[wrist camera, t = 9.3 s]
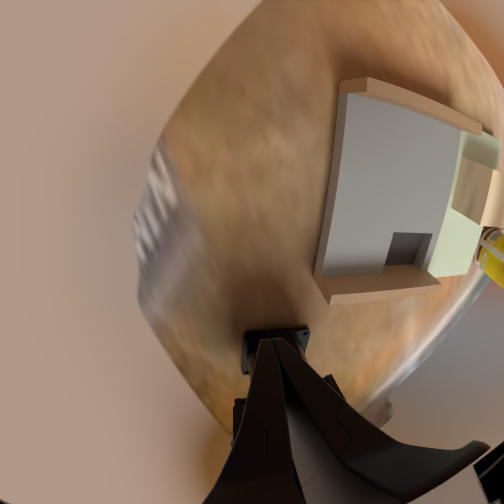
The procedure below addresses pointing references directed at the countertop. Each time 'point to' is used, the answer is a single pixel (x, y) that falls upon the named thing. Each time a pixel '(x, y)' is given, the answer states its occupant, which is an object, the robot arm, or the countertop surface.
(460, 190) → the block
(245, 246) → the countertop surface
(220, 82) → the countertop surface
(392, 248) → the board
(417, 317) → the countertop surface
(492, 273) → the supplement bottle
